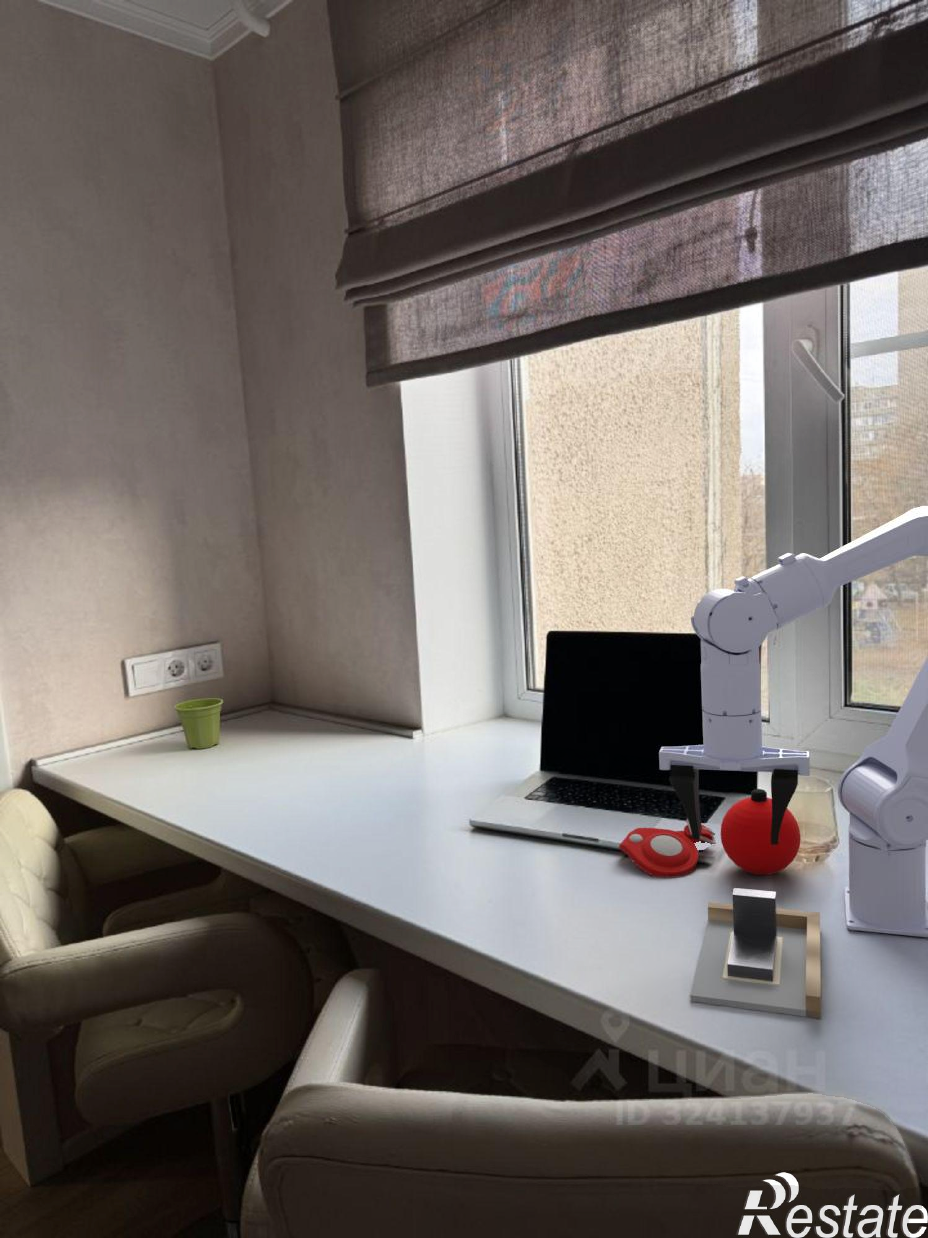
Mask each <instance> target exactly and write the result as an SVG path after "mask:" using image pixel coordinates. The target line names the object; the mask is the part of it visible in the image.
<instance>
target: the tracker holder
mask: <svg viewBox="0 0 928 1238" xmlns="http://www.w3.org/2000/svg"><path fill="white" fill-rule="evenodd" d="M685 821H686V825H685V826H684V827H683V830H673V829H672V830H671V829H667V828H656V827H638V828H637V827H636V828H635V829H633V830H632V831H630V832H629V833H627V835H626V837H624V839H623V841H622V842H620V843H619V845H618V848H619V850H620V851H621V852H622V853H624V855H625V854H626V856H628V857H629V859H630V860H631V861H632V862H633V863H634V864H635V865H636V866H637V867H639V868H640V869H641V870H642V871H643V872H645V873H646V874H648V875H650V876H652V877H658V878H673V877H681V876H684V875H687V874H690V873H692V872H693V871H694V870H695V868H696V866H697V864H698V861H699V851H698V850H697V848H696V846H695V844H694V843H696V842H699V841H701V843H705V842H707V843H710V844H711V845H712V844H716V845H717V842H716V840H715V839H716V838H715V836H716V833H715V832H714V831H712V828H710V827H708V826H706V825H703V824H701V835H700V839H699V840H697V839H692V833H691V828H690V824H689V821H688V818H687V819H686V820H685Z"/></svg>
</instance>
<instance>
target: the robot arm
mask: <svg viewBox="0 0 928 1238" xmlns="http://www.w3.org/2000/svg"><path fill="white" fill-rule="evenodd" d="M918 556H919V557H928V505H922V506H919V507H914V508H912V509H910V510H908V511H906V512H905V513H903V514H901V515H899V516H898V517H896V518H894V519H893V520H890V521H889V522H887V523H885V524H882V525H881V526H879V527H877V528H876V529H873V530H871V531H869V532H868V533H866V534H864V535H862V536H861V537H859V538H856V539H854V540H853V541H851V542H849V543H847V544H845V545H843V546H841V547H839V548H837V549H835V550H834V551H832V552H829V553H828V554H826V555H824V556H823V557H820V558H818V557H815V556H814V555H812V554H808V553H800V554H797V555H795V554H794V553H789V552H787V553H785V554H783V555H781V556H778V557H777V562H778V564H777V565H774V566H771V568H768V569H765V570H763V571H761V572H759V573H757V574H756V575H753V576H751V577H746V576H740V577H738V578H736V579H735V580H734V581H733V582H734V584H735V585H734V587H733V590H732V589H728V588H718V589H717V588H716V589H714V590H711V591H709V592H707V593H706V594H704V595H703V596H702V597H701V598H700V601H699V602H697V604H696V606H695V608H694V612H693V616H690V624H691V626H692V629H693V631H694V632H695V634H696V635H697V637H699V639H700V657H701V658H700V660H701V663H700V681H701V682H700V683H701V684H700V685H701V686H700V687H701V689H700V690H701V710H702V711H701V712H702V737H703V738H702V740H703V741H702V742H703V744H698V745H697V744H696V745H682V746H680V745H679V746H661V747H660V749H659V752H658V758H659V759H658V760H659V770H660V771H670V772H669V773H670V774H669V775H670V776H668V777H669V782H670V785H671V788H673V790H674V791H675V794H676V796H677V798H678V799H679V800H680V802H681V805H682V807H683V809H684V812H685V815H686V817H687V819H688V821H689V824H690V828H691V833H692V839H697V840H699V839H700V835H701V825H702V817H701V809H700V808H701V807H700V799H699V798H700V795H699V794H700V788H699V787H700V786H699V785H700V783H699V781H700V780H699V779H700V778H699V777H700V771H699V770H710V771H712V770H713V771H733V772H734V771H735V772H737V771H739V772H758V773H771V777H770V789H771V791H770V793H771V795H770V796H771V799H772V825H771V844H772V845H778V843H779V833H780V828H781V824H782V820H783V817H784V814H785V812H786V809H788V807H789V804H790V802H791V800H792V798H793V796H794V794H795V792H796V790H797V787H798V785H799V776H802V777H803V776H805V777H810V776H811V775H810V774H811V771H810V770H811V768H810V767H811V765H810V764H811V763H810V762H811V760H810V751H808V750H807V751H806V750H794V749H785V748H776V747H772V746H771V747H770V746H763V725H762V724H763V723H762V691H761V690H762V689H761V687H762V686H761V684H762V683H761V681H762V679H761V663H760V646H761V645H762V644H763V643H764V641H765V640H766V638H767V637H768V634H769V633H772V632H774V631H776V630H779V629H781V628H783V627H785V626H787V625H790V624H791V623H794V622H796V621H798V620H800V619H802V618H804V617H806V616H808V615H811V614H813V613H815V612H817V611H819V610H822V609H823V608H825V607H828V606H830V604H831V603H832V601H833V598H834V596H835V593H836V591H837V589H838V588H839V587H841V586H844V585H847V584H849V583H851V582H854V581H856V580H858V579H861V578H863V577H866V576H867V575H871V574H872V573H875V572H878V571H881V570H882V569H886V568H887V567H890V566H892V565H895V564H897V563H899V562H902V561H904V560H907V559H909V558H912V557H918ZM837 796H838V799H839V803H840V805H841V806H842V807H843V808H844V810H845V811H847V812H848V813H849V824H848V830H847V831H848V883H849V884H848V886H844V887H843V893H844V894H843V895H844V898H843V899H844V911H845V912H844V913H845V925H846V929H848V930H851V931H860V932H861V931H862V932H870V933H872V932H873V933H881V934H889V935H890V934H892V935H903V936H910V937H913V936H914V937H921V938H928V904H927V900H926V896H927V895H926V893H927V891H926V888H927V887H926V870H927V867H926V863H927V862H926V860H927V859H926V857H927V856H926V849H927V848H926V847H927V841H928V655H927V656H926V659H925V660H924V662H923V663H922V666H921V668H920V670H919V672H918V674H917V676H916V678H915V680H914V681H913V683H912V685H911V687H910V689H909V691H908V693H907V695H906V697H905V699H904V701H903V703H902V705H901V707H900V708H899V710H898V712H897V713H896V716H895V718H894V720H893V722H892V724H891V725H890V727H889V729H888V732H886V735H885V736H883V737H882V738H880V739H877V740H875V741H874V742H872V743H870V744H868V745H867V746H866V747H865V749H864V751H863V753H862V754H861V756H860V757H859V758H858V759H857V761H855V762H854V763H853V764H851V765H850V766H848V768H847V769H845V770H844V771H843V773H842V775H841V776H840V778H839V781H838V784H837Z"/></svg>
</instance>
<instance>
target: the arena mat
mask: <svg viewBox="0 0 928 1238" xmlns="http://www.w3.org/2000/svg"><path fill="white" fill-rule="evenodd" d="M733 931H734V925H733V922H727V921H717V920H708V919H707V923H706V927H705V931H704V935H703V939H702V945H701V949H700V953H699V956H698V961H697V966H696V969H695V973H694V978H693V982H692V985H691V986H692V987H691V991H690V995H689V997H690V1002H695V1003H701V1004H709V1005H716V1006H724V1007H730V1008H737V1009H738V1008H739V1009H747V1010H753V1011H754V1010H755V1011H761V1012H768V1013H774V1014H775V1013H778V1014H783V1015H789V1016H796V1017H797V1016H798V1017H805V1018H806V1017H807V1018H812V1017H813V1016H812V1014H811V1013H810V1016H809V1013H807V1012H809V1011H806V953H807V930H806V929H796V928H786V927H777V945H776V956H775V966H774V976H773V982H771V981H763V980H755V979H747V978H740V977H732V976H728V969H727V963H728V958H729V953H730V947H731V942H732V937H733ZM811 1012H812V1011H811ZM813 1012H814V1011H813ZM806 1013H807V1014H808V1015H806ZM817 1013H818V1012H817ZM820 1013H821V1014H822V1011H821V1012H820ZM820 1013H819V1014H820ZM813 1015H814V1014H813ZM817 1015H818V1014H817ZM817 1015H816V1018H814V1017H815V1016H814V1017H813V1019H822V1015H821V1016H820V1015H818V1016H819V1017H820V1018H818V1017H817ZM811 1016H812V1017H811Z"/></svg>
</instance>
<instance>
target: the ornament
mask: <svg viewBox="0 0 928 1238" xmlns="http://www.w3.org/2000/svg"><path fill="white" fill-rule="evenodd" d="M771 825H772V797H771V798H770V797H768V793H767V791H766V790H765V789H762V788H756V789H752V790H751V791H750V796H749V797H746V798H742V799H741V800H738V801H737V802H735V803H733V804H732V806H731V807H730V808H729V809H728V810H727V811H726V813H725V814H724V816H723V818H722V821H721V824H720V840H721V844H722V847H723V850H724V852H725V854H726V855H727V856H728V858H729V859H730V860H731V862H733V864H734V865H736V866H737V867H739V868H740V869H742V870H744V871H745V872H748V873H751V874H754V875H759V876H761V875H762V876H764V875H765V876H766V875H772V874H776V873H779V872H781V871H782V870H784V869H786V868H787V867H788V866H790V864H791V863H792V862H794V860H795V858H796V857H797V855H798V853H799V849H800V847H801V831H800V826H799V823H798V821H797V819H796V818H795V817H794V814H793V813H792V811H790V810H789V808H787V809H786V812H785V814H784V817H783V820H782V824H781V828H780V833H779V843H778V845H772V844H771Z"/></svg>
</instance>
